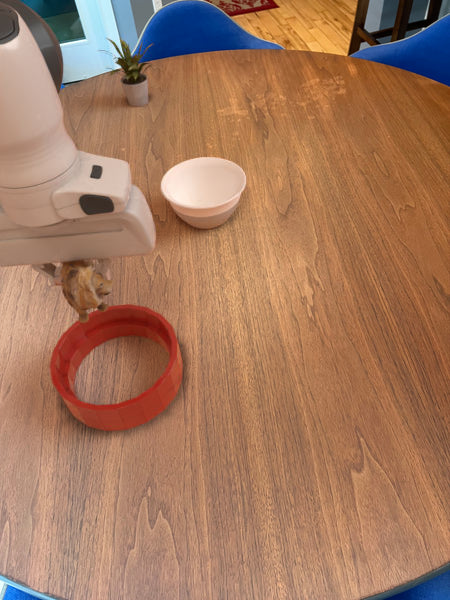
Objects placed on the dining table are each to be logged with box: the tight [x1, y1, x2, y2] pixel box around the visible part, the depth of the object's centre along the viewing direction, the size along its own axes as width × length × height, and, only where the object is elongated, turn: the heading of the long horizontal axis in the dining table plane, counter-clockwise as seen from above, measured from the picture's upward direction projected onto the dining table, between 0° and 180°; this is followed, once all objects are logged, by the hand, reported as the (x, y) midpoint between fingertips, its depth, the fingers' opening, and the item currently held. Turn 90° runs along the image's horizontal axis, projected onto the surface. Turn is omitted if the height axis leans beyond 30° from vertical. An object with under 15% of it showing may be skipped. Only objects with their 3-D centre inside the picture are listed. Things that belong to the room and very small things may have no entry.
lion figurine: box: [61, 260, 115, 323], centre depth 57 cm, size 15×5×9 cm, turn 31°
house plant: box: [98, 37, 155, 108], centre depth 123 cm, size 14×14×16 cm
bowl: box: [160, 156, 247, 230], centre depth 91 cm, size 16×16×9 cm
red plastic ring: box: [49, 303, 184, 432], centre depth 69 cm, size 18×18×6 cm
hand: (82, 280), depth 59 cm, fingers closed on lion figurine, 4 cm apart
